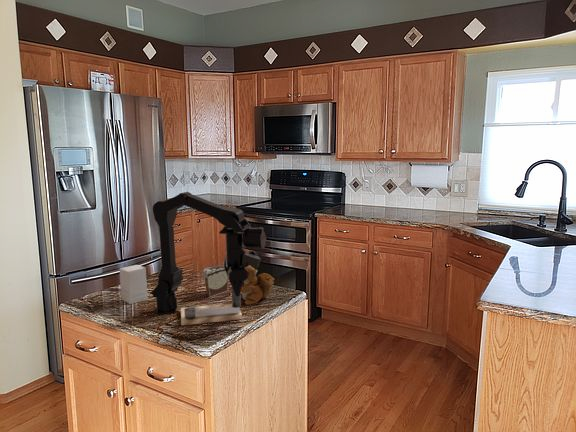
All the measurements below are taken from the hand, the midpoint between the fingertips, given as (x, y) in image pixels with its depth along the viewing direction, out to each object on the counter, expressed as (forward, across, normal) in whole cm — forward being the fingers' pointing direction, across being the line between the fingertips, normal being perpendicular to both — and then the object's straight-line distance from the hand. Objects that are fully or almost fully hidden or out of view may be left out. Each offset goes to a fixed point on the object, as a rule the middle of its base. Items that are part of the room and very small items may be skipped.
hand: (235, 291), depth 151 cm
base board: (+9, +4, +8) cm, 13 cm away
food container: (+9, +28, +5) cm, 30 cm away
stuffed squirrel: (+9, +16, -9) cm, 21 cm away
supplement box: (+10, +28, +35) cm, 46 cm away
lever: (+7, 0, +8) cm, 11 cm away
